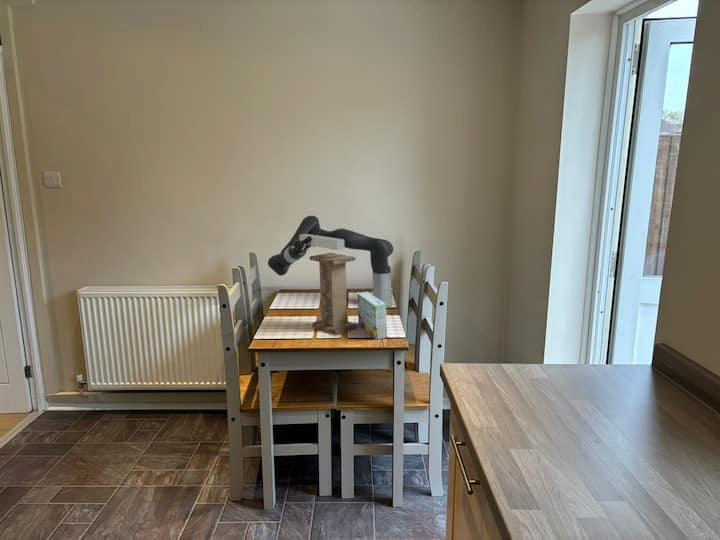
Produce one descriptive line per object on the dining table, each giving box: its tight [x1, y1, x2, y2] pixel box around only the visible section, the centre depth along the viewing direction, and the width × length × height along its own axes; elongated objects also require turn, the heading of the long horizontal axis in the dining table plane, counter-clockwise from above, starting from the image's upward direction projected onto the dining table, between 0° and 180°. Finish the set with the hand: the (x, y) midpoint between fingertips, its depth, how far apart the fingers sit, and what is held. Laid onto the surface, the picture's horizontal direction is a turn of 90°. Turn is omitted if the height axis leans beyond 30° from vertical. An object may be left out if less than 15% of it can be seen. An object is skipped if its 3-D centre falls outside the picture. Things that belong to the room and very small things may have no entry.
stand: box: [309, 252, 358, 336], centre depth 210 cm, size 16×12×32 cm
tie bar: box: [299, 234, 345, 251], centre depth 211 cm, size 26×4×4 cm, turn 44°
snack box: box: [356, 291, 388, 341], centre depth 206 cm, size 21×6×15 cm, turn 21°
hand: (314, 237), depth 214 cm, fingers closed on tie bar, 4 cm apart
